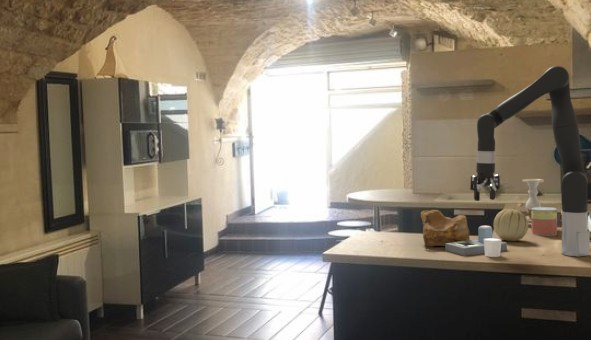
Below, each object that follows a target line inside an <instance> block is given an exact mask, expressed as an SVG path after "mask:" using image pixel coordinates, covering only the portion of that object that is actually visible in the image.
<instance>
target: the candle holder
mask: <svg viewBox="0 0 591 340" xmlns="http://www.w3.org/2000/svg"><path fill="white" fill-rule="evenodd" d="M521 180H522V182H523V183H527V184H526V185H527V186H528V187H529V188H528V191H527V193H528V195H529V197H528V199H527V201H526V202H525V208H526V209H527V211H526V214H527V215H525V216H526V218H527V220H528V229H532V209H531V208H534V207H542V205H541V203H540V201H539V199H538V198H537V195H538V193H539V191H538V186H539V184H540V183H544V181H545V180H544V179H542V178H524V179H521Z"/></svg>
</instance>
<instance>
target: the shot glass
mask: <svg viewBox="0 0 591 340" xmlns="http://www.w3.org/2000/svg"><path fill="white" fill-rule="evenodd" d="M483 240H484V250H485V253H484V256H485V257H488V258H490V257H491V258H497V257H500V256H501V252H502V251H501V242H502V239H501V238H496V237H492V238H485V239H483Z"/></svg>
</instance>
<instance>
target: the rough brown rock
mask: <svg viewBox="0 0 591 340" xmlns="http://www.w3.org/2000/svg"><path fill="white" fill-rule="evenodd" d="M420 218H421V220H422V238H423V242H424V244H423V245H424V247H430V248H431V247H432V248H433V247H435V246H436V247H437V246H442V247H445V243H452V242H460V241H469V240H471V239H470V229H469V227H468V221H467V220H468V219H467V216H466V215H464V214H458V215H457V216H455V217H452V218H451V217H448V216H445V215H444V214H443V213H442V212H441V211H440V210H437V209H431V210H427V209H426V210H422V211H421V212H420Z"/></svg>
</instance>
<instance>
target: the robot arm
mask: <svg viewBox="0 0 591 340" xmlns="http://www.w3.org/2000/svg"><path fill="white" fill-rule="evenodd" d="M570 80H571V79H570V74H569V71H568V69H566V68H565V67H563V66H562V65H561V66H560V65H553V66H551V67H549V68H548V69H546V71H545V72H544V73H542V75H541V76H539V77H538V78H537V79H536V80H535V81H534V82H532V83H531V84H530V85H528V86H527V87H525V88H524V89H522V90H521V91H518V92H516V94H513V95H512V96H510V97H509V98H507V99H506V100H504V101H502V102H501V103H500V104H498V105H497V106H496V108H494V109H492V110H491V111H489V112H487V113H485V114H481V115H480V116H479V117H478V119H477V122H476V130H477V131H476V132H477V152H476V166H475V167H476V169H475V170H476V171H475V172H476V174H477V175H476V176H475V175H471V177H470V189H469V190H470V191H473V199H474V201H476V202H479V201H480V196H481V195H480V193H481V192H480V191H481V189H482V188H483V187H488V188H489V200H492V201H495V200H496V191H497V190H500V188H501V187H500V184H501V183H500V182H501V180H500V179H501V178H500V175H498V174H495V173H496V139H495V129H496V128H498V127H499V126H500V125H501V124H503V123H504V122H505V121H507V120H509V119H511V118H513V117H514V116H516V115H517V114H519V113H520V112H522V111H523V110H524V109H526V108H527V107H529V106H530V105H531V104H532V103H533V102H535V101H536V100H538V99H539V98H541V97H542V96H545V95H547V94H549V99H550V103H551V125H552V127H551V128H552V132H553V137H554V142H555V145H556V149H557V151H558V154H559V157H560V161H561V167H562V179H561V191H560V192H561V201H560V202H561V254H562V255H564V256H570V257H585V256H590V247H591V245H590V234H591V233H590V231H589V230H588V210H589V209H588V185H589V183H588V182H589V181H588V177H587V174H586V171H585V167H584V164H583V161H582V154H581V149H582V148H581V136H580V129H579V124H578V119H577V115H576V112H575V109H574V106H573V102H572V99H571V98H572V97H571V88H570V86H571V85H570Z"/></svg>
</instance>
